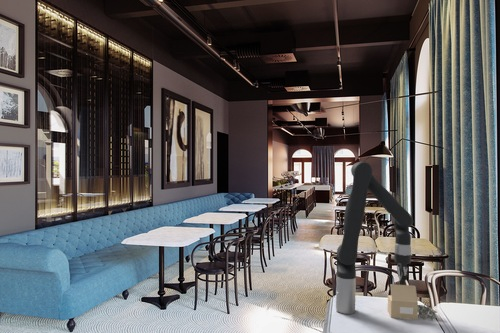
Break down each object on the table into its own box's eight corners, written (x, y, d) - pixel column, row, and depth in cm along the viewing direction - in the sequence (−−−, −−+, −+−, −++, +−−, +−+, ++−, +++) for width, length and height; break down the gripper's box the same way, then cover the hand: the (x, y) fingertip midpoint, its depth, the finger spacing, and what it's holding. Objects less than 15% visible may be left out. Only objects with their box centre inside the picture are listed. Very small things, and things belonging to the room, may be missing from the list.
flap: (391, 301, 178) (392, 300, 178) (390, 284, 182) (390, 284, 182) (417, 303, 176) (417, 302, 176) (415, 286, 180) (415, 285, 180)
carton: (391, 317, 178) (391, 301, 178) (387, 310, 187) (387, 294, 186) (417, 319, 176) (417, 303, 176) (412, 312, 185) (412, 296, 184)
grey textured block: (437, 320, 176) (437, 312, 176) (421, 319, 177) (421, 311, 177) (429, 311, 187) (430, 303, 187) (414, 310, 188) (414, 302, 188)
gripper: (391, 248, 190) (390, 282, 190) (397, 255, 177) (396, 291, 177) (407, 249, 188) (406, 283, 189) (414, 256, 175) (413, 292, 176)
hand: (401, 287), depth 183 cm, fingers closed
